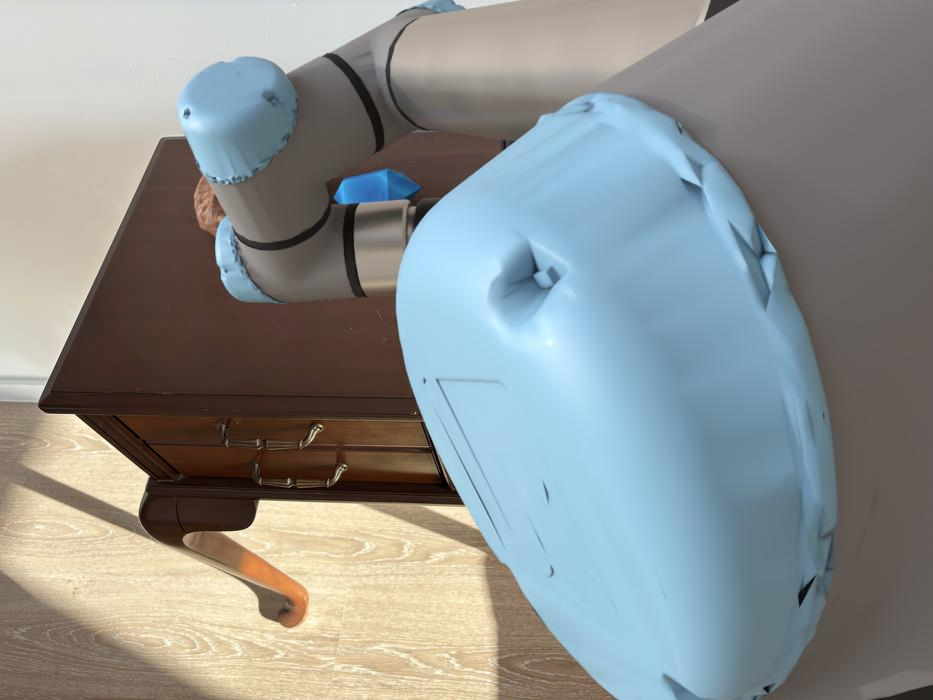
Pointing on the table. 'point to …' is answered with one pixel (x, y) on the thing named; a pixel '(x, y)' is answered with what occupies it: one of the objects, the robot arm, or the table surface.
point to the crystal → (376, 188)
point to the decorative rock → (208, 207)
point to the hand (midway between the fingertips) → (719, 228)
